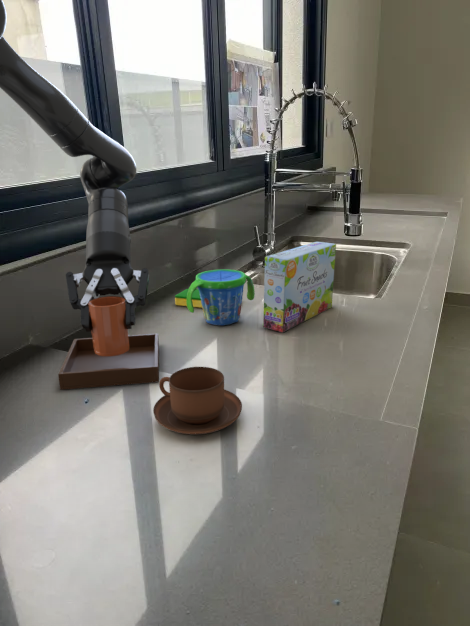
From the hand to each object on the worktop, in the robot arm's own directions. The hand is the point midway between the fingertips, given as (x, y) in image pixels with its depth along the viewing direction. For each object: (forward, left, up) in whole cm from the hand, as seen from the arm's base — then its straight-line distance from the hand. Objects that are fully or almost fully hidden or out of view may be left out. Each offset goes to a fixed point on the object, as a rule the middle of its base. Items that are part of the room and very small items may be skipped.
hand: (108, 328), depth 80 cm
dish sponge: (+19, +36, -8) cm, 41 cm away
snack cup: (+21, +23, -8) cm, 32 cm away
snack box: (+38, +22, -8) cm, 44 cm away
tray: (0, +3, -8) cm, 8 cm away
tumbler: (0, +2, -4) cm, 5 cm away
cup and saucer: (+13, -17, -8) cm, 23 cm away
